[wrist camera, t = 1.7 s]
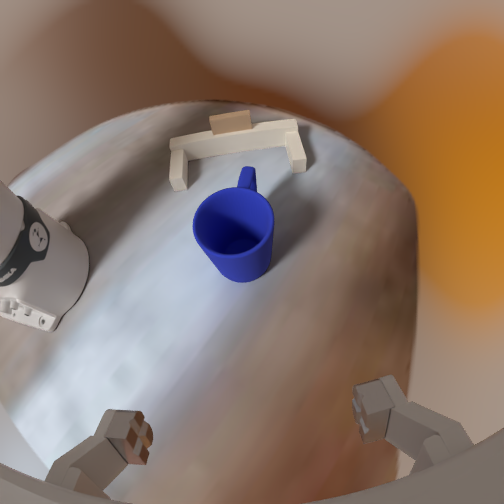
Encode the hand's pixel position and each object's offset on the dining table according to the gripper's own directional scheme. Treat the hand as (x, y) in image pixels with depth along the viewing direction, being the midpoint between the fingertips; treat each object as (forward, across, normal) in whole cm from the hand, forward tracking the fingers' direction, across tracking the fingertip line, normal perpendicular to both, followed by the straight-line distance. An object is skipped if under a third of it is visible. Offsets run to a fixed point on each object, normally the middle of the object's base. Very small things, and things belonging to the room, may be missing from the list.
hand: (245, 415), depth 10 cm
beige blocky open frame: (+41, 0, -8) cm, 41 cm away
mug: (+30, 0, +3) cm, 31 cm away
